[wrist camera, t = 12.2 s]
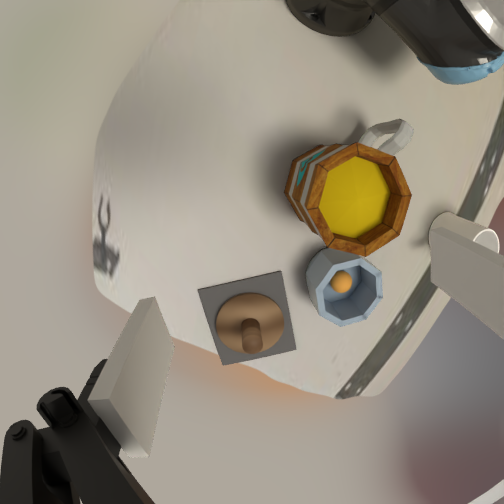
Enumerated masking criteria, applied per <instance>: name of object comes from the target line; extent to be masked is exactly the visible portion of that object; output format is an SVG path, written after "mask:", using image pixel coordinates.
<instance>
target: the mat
mask: <svg viewBox="0 0 504 504" xmlns="http://www.w3.org/2000/svg"><path fill="white" fill-rule="evenodd" d="M198 292H199V295H200V298H201V302H202V305H203V308H204V311H205V314H206V317H207V320H208V323H209V326H210V329H211V332H212V335H213V338H214V341H215V344H216V347H217V350H218V353H219V356H220V359H221V362H222V364H223V365H228V364H233V363H238V362H243V361H248V360H253V359H258V358H262V357H267V356H271V355H276V354H280V353H284V352H289V351H293V350H296V345H295V339H294V334H293V329H292V323H291V318H290V313H289V308H288V303H287V298H286V293H285V287H284V282H283V277H282V272H281V271H278V272H273V273H269V274H265V275H260V276H256V277H252V278H247V279H243V280H238V281H234V282H230V283H225V284H221V285H216V286H212V287H207V288H203V289H198ZM249 292H253V293H260V294H263V295H266V296H268V297H270V298H271V299H273V300H274V301H275V302H276V303H277V304H278V306H279V307H280V309H281V311H282V314H283V317H284V330H283V333H282V335H281V337H280V339H279V340H278V341H277V342H276V343H275V344H274V345H273V346H272V347H270V348H269V349H267V350H265V351H262V352H259V353H256V354H245V353H240V352H236V351H234V350H232V349H230V348H228V347H227V346H226V345H225V344H224V343H223V342H222V341H221V340H220V338H219V336H218V333H217V329H216V321H217V315H218V312H219V310H220V308H221V307H222V305H223V304H224V303H225V302H226V301H227V300H229V299H230V298H232V297H234V296H236V295H238V294H242V293H249Z"/></svg>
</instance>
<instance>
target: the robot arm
mask: <svg viewBox="0 0 504 504" xmlns="http://www.w3.org/2000/svg"><path fill="white" fill-rule="evenodd" d="M286 2H287V4H288V7H289V8H290V10H291V12H292V13H293V14H294V15H295V17H296V18H297V19H298V20H300V21H301V22H302V23H303V24H305V25H306V26H308V27H309V28H311V29H313V30H315V31H317V32H320V33H323V34H326V35H331V36H348V35H352V34H355V33H357V32H359V31H361V30H362V29H363V28H365V27H366V26H367V25H368V24H369V23H370V22H371V20H372V19H373V17H374V15H375V12H376V13H377V14H378V15H379V16H380V17H381V18H382V19H383V20H384V21H385V22H386V23H387V24H388V25H389V26H390V27H391V28H392V29H393V30H394V31H395V32H396V33H397V35H398V36H399V37H400V38H401V39H402V40H403V41H404V42H405V43H406V44H407V45H408V46H409V48H410V49H411V50H412V51H413V52H414V53H415V54H416V55H417V59H418V60H419V61H420V62H421V63H422V64H423V65H425V66H426V67H427V68H428V69H429V71H430V72H431V73H432V74H433V75H434V76H435V77H436V78H437V79H438V80H440V81H442V82H444V83H447V84H453V85H459V84H466V83H471V82H475V81H478V80H480V79H483V78H485V77H487V75H488V73H494V72H495V71H497V70H498V69H499V68H500V67H501V66H502V65H503V64H504V0H286ZM430 243H431V282H432V283H434V284H435V285H436V286H438V287H439V288H440V289H442V290H443V291H444V292H445V293H447V294H448V295H449V296H451V297H452V298H453V299H454V300H456V301H457V302H458V303H459V304H461V305H462V306H463V307H465V308H466V309H467V310H468V311H470V312H471V313H472V314H473V315H474V316H476V317H477V318H478V319H479V320H481V321H482V322H483V323H484V324H485V325H487V326H488V327H489V328H490V329H492V330H493V331H494V332H495V333H496V334H497V335H498V336H500V337H501V338H502V339H503V340H504V256H502V255H500V254H498V253H496V252H494V251H492V250H490V249H488V248H486V247H484V246H482V245H480V244H478V243H476V242H474V241H472V240H470V239H468V238H465V237H463V236H461V235H459V234H457V233H455V232H452V231H450V230H448V229H446V228H444V227H439V228H435V229H432V230H430ZM174 348H175V346H174V344H173V342H172V339H171V337H170V334H169V332H168V329H167V327H166V324H165V322H164V319H163V317H162V314H161V311H160V309H159V306H158V303H157V301H156V298H155V297H151V298H146V299H142V300H139V302H138V304H137V306H136V307H135V309H134V311H133V313H132V315H131V316H130V318H129V320H128V322H127V324H126V326H125V328H124V329H123V331H122V333H121V335H120V337H119V339H118V341H117V342H116V344H115V347H114V349H113V350H112V352H111V354H110V356H109V358H108V359H104V360H102V361H101V362H100V363H99V364H98V365H97V366H96V367H95V368H94V370H93V371H92V373H91V375H90V378H89V379H88V381H87V383H86V386H85V387H84V388H83V390H82V392H81V394H80V396H79V398H78V400H77V399H76V398H75V396H74V395H73V393H72V392H71V391H70V390H69V389H68V388H66V387H59V388H55V389H53V390H50V391H49V392H47V393H46V394H44V395H43V396H42V397H41V398H40V400H39V402H38V404H37V411H38V412H39V413H40V415H41V416H42V417H43V419H44V420H45V421H46V423H47V424H48V425H49V427H47V428H43V429H39V430H37V429H36V428H35V426H34V425H33V424H32V423H31V422H30V421H28V420H21V421H18V422H16V423H14V424H13V425H11V426H10V428H9V429H8V431H7V432H6V435H5V439H4V447H3V454H2V463H1V475H0V504H80V499H81V501H82V503H83V504H155V503H154V502H153V501H152V499H151V498H150V497H149V496H148V494H147V493H146V492H145V491H144V489H143V488H142V487H141V485H140V484H139V483H138V482H137V480H136V479H135V478H134V476H133V475H132V474H131V472H130V471H129V469H128V468H127V467H126V465H125V464H124V462H123V461H122V460H121V459H120V457H119V452H120V449H121V448H122V449H123V450H124V451H125V453H126V454H127V455H128V457H149V456H150V451H151V447H152V442H153V437H154V433H155V428H156V424H157V419H158V414H159V410H160V405H161V401H162V397H163V392H164V389H165V384H166V380H167V376H168V372H169V368H170V364H171V360H172V355H173V351H174ZM79 497H80V498H79Z"/></svg>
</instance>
